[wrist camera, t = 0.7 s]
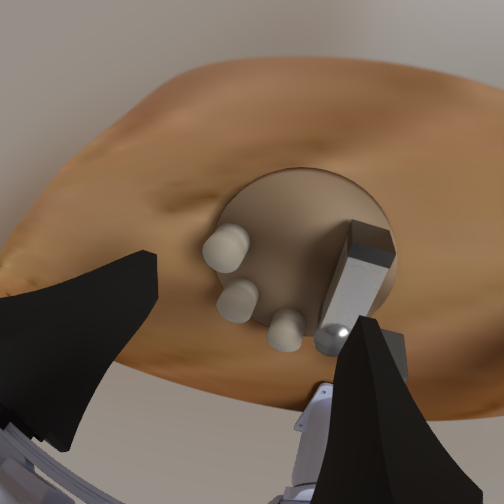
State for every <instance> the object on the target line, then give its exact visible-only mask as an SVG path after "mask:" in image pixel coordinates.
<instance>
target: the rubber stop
mask: <svg viewBox="0 0 504 504" xmlns="http://www.w3.org/2000/svg"><path fill="white" fill-rule="evenodd" d="M381 331H382V334H383V336H384V338H385V341H386V343H387V345H388V347H389V350H390V352H391V354H392V357H393V359H394V361H395V363H396V365H397V368H398V370H399V372H400V374H401V376H402V378H403V380H404V382H406V380H407V379H408V368H407V358H406V350H405V342H404V335H403V334H399V333H395V332H391V331H386V330H382V329H381Z"/></svg>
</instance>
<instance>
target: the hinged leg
mask: <svg viewBox="0 0 504 504" xmlns="http://www.w3.org/2000/svg"><path fill="white" fill-rule="evenodd" d="M395 256H396V251H395V247H394V244H393V241H392V237H391V234H390V231H389V230H387V229H384V228H380V227H377V226H374V225H371V224H367V223H364V222H361V221H357V220H354V219H351V222H350V226H349V229H348V232H347V238H346V241H345V244H344V247H343V250H342V253H341V256H340V259H339V262H338V264H337V267H336V270H335V273H334V276H333V278H332V281H331V284H330V286H329V289H328V292H327V294H326V297H325V300H324V302H323V303H322V305H321V306H320V308H319V313H318V317H317V323H316V329H315V335H314V341H313V345H314V346H315V347H316V349H317V350H318V351H319V352H321V353H322V354H325V355H328V356H338V354H339V353H340V351H341V349H342V347H343V345H344V343H345V342H346V340H347V338H348V336H349V334H350V332H351V330H352V328H353V326H354V325H355V323H356V321H357V319H358V317H359V315H362V316H366V315H367V313H368V311H369V309H370V307H371V305H372V303H373V301H374V299H375V297H376V295H377V293H378V291H379V289H380V286H381V284H382V282H383V280H384V278H385V276H386V273H387V271H388V269H390V268H391V265H392V263H393V261H394V259H395Z"/></svg>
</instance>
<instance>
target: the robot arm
mask: <svg viewBox="0 0 504 504" xmlns="http://www.w3.org/2000/svg"><path fill="white" fill-rule="evenodd" d="M157 300H158V278H157V254H154V253H151V252H148V251H145V250H141V251H138V252H135V253H133V254H130V255H128V256H125V257H123V258H121V259H118V260H116V261H114V262H111V263H109V264H107V265H104V266H102V267H100V268H98V269H95V270H93V271H91V272H88V273H85V274H83V275H80V276H78V277H75V278H73V279H70V280H68V281H65V282H62V283H59V284H56V285H53V286H50V287H47V288H44V289H40V290H37V291H32V292H28V293H24V294H19V295H15V296H9V297H3V298H0V504H75V502H74V500H72V499H71V498H70V497H69V496H68V495H66V494H65V493H64V492H62V491H61V490H60V489H58V488H57V487H56V486H54V485H53V484H51V483H50V482H48V481H47V480H45V479H44V478H43V477H41V476H40V475H38V474H37V473H35V471H34V465H35V466H36V467H37V468H39V469H40V470H41V471H42V472H44V473H45V474H46V475H47V476H49V477H50V478H51V479H53V480H54V481H55V482H57V483H58V484H59V485H60V486H62V487H63V488H65V489H66V490H67V491H69V492H70V493H72V494H74V495H75V496H76V497H78V498H79V499H81V500H82V501H84V502H85V503H87V504H124V503H122V502H121V501H119V500H117V499H115V498H113V497H112V496H110V495H108V494H106V493H104V492H103V491H101V490H99V489H98V488H96V487H95V486H93V485H91V484H90V483H88V482H87V481H85V480H83V479H82V478H80V477H79V476H77V475H76V474H74V473H73V472H71V471H70V470H69V469H67V468H66V467H64V466H63V465H61V464H60V463H59V462H57V461H56V460H54V458H52V457H51V456H50V455H48V454H47V453H46V452H44V451H43V450H42V449H41V448H40V447H38V446H37V445H36V444H35V443H33V442H32V441H31V439H32V437H33V436H34V437H35V438H36V439H37V440H39V441H40V442H43V440H45V441H46V442H48V443H49V444H50V445H51V446H53V447H54V448H56V449H57V450H58V451H59V452H67V451H69V450H70V447H71V444H72V441H73V438H74V436H75V433H76V431H77V428H78V425H79V423H80V421H81V419H82V416H83V414H84V412H85V410H86V408H87V406H88V403H89V402H90V400H91V398H92V396H93V394H94V392H95V390H96V388H97V386H98V385H99V383H100V381H101V380H102V378H103V376H104V374H105V373H106V371H107V369H108V368H109V366H110V365H111V363H112V362H113V361H114V359H115V358H116V357H117V356H118V354H119V353H120V352H121V350H122V349H123V348H124V347H125V345H126V344H127V343H128V342H129V340H130V339H131V338H132V336H133V335H134V334H135V333H136V331H137V330H138V329H139V328H140V326H141V325H142V324H143V322H144V321H145V320H146V318H147V317H148V315H149V313H150V312H151V310H152V308H153V307H154V305H155V303H156V301H157ZM294 430H296V431H300V432H302V435H301V440H300V444H299V448H298V453H297V457H296V461H295V465H294V469H293V473H292V484H293V487H286V488H285V492H284V495H279V496H276V497H275V498H274V499H273V500H272V501H270V502H269V503H268V504H483V492H482V490H481V489H480V488H479V487H478V486H477V485H476V484H475V483H474V482H473V481H472V480H471V479H470V478H469V477H468V476H467V475H466V474H465V473H464V472H463V471H462V470H461V468H460V467H459V466H458V465H457V463H456V462H455V461H454V460H453V459H452V458H451V456H450V455H449V454H448V452H447V451H446V450H445V448H444V447H443V446H442V444H441V443H440V441H439V440H438V439H437V437H436V436H435V434H434V433H433V432H432V430H431V428H430V427H429V425H428V424H427V422H426V420H425V419H424V417H423V415H422V414H421V412H420V410H419V409H418V407H417V405H416V403H415V402H414V400H413V398H412V396H411V394H410V392H409V390H408V388H407V386H406V384H405V382H404V380H403V378H402V376H401V374H400V372H399V370H398V368H397V365H396V363H395V361H394V359H393V357H392V354H391V352H390V350H389V347H388V345H387V343H386V341H385V338H384V336H383V334H382V331H381V329H380V327H379V325H378V322H377V320H376V319H373V318H369V317H366V316H362V315H359V317H358V319H357V321H356V323H355V325H354V326H353V328H352V330H351V332H350V334H349V336H348V338H347V340H346V342H345V343H344V345H343V347H342V349H341V351H340V353H339V354H338V359H337V364H336V369H335V375H334V380H333V384H330V383H322V384H320V385H319V387H318V389H317V390H316V392H315V394H314V395H313V397H312V399H311V400H310V402H309V404H308V405H307V407H306V408H305V410H304V412H303V413H302V415H301V416H300V418H299V419H298V421H297V422H296V424H295V426H294Z"/></svg>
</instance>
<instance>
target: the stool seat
mask: <svg viewBox="0 0 504 504" xmlns="http://www.w3.org/2000/svg"><path fill="white" fill-rule="evenodd" d="M351 219H354V220H357V221H361V222H364V223H367V224H371V225H374V226H377V227H380V228H384V229H387V230H389V231H390V234H391V237H392V241H393V244H394V247H395V251H396V256H395V259H394V261H393V263H392V265H391V268H390V269H388V271H387V273H386V276H385V278H384V280H383V282H382V284H381V286H380V289H379V291H378V293H377V295H376V297H375V299H374V301H373V303H372V305H371V307H370V309H369V311H368V313H367V315H366V317H371V316H372V315H373V314H374V313H375V312H376V311H377V310H378V309H379V308H380V307H381V305H382V304H383V303H384V302H385V300H386V298H387V297H388V295H389V293H390V291H391V289H392V287H393V284H394V281H395V277H396V273H397V264H398V256H397V247H396V243H395V238H394V235H393V232H392V229H391V226H390V224H389V221H388V219H387V217H386V215H385V213H384V212H383V210H382V208H381V207H380V206H379V204H378V203H377V202H376V201H375V199H374V198H373V197H372V196H371V195H370V194H369V193H368V192H367V191H365V190H364V189H363V188H362V187H360V186H359V185H357V184H356V183H355V182H353V181H351V180H349V179H347V178H345V177H343V176H341V175H339V174H336V173H333V172H330V171H327V170H322V169H317V168H305V167H298V168H287V169H282V170H278V171H274V172H271V173H269V174H266V175H263V176H262V177H260V178H258V179H256V180H254V181H253V182H251V183H250V184H249V185H247V186H246V187H245V188H243V189H242V190H241V191H240V192H239V193H238V194H237V195H236V196H235V197H234V199H233V200H232V201H231V202H230V203H229V204H228V205H227V207H226V208H225V209H224V211H223V212H222V214H221V216H220V218H219V220H218V222H217V225H216V228H215V231H214V233H213V234H212V235H211V236H210V238H209V239H208V240H207V241H206V242H205V244H204V245H203V249H202V253H203V257H204V260H205V261H206V263H207V264H208V265H209V266H210V267H211V268H212V269H214V270H216V273H217V276H218V278H219V281H220V283H221V285H222V287H223V288H224V290H223V292H222V293H221V295H220V297H219V298H218V300H217V303H216V308H217V310H218V312H219V314H220V315H221V316H222V317H223V318H224V319H226V320H228V321H230V322H233V323H244V322H246V321H248V320H249V319H250V317H251V318H252V319H254V320H256V321H257V322H259V323H261V324H262V325H265V326H267V327H269V330H268V333H267V342H268V343H269V345H270V346H271V347H272V348H274V349H276V350H278V351H281V352H293V351H296V350H297V349H299V348H300V346H301V344H302V339H303V336H311V337H314V335H315V329H316V323H317V317H318V313H319V308H320V306H321V305H322V303H323V302H324V300H325V297H326V294H327V292H328V289H329V286H330V284H331V281H332V278H333V276H334V273H335V270H336V267H337V264H338V262H339V259H340V256H341V253H342V250H343V247H344V244H345V241H346V238H347V232H348V229H349V226H350V222H351Z"/></svg>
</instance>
